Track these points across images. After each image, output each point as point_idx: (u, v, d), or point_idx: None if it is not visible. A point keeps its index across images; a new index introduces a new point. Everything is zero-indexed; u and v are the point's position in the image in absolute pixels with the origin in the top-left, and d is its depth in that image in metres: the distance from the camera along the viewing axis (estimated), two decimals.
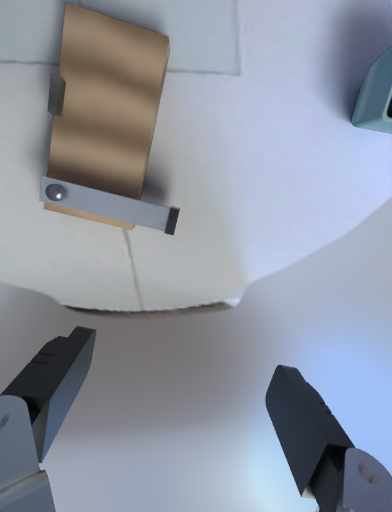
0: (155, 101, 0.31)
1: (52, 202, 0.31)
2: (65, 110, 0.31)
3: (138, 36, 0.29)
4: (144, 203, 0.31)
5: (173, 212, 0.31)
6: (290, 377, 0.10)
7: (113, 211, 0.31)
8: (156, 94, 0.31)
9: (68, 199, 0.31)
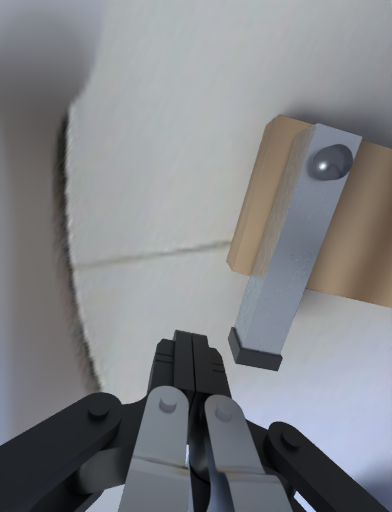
0: None
1: (311, 150, 0.15)
2: None
3: None
4: (291, 317, 0.18)
5: (274, 362, 0.19)
6: (194, 342, 0.10)
7: (283, 265, 0.17)
8: None
9: (313, 184, 0.16)
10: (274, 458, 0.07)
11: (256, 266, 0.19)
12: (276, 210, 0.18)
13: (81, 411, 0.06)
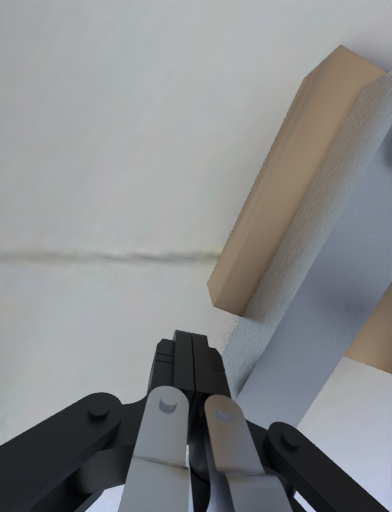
0: None
1: None
2: None
3: None
4: (303, 410, 0.10)
5: None
6: (194, 342, 0.10)
7: (308, 320, 0.09)
8: None
9: None
10: (274, 458, 0.07)
11: (254, 306, 0.11)
12: (306, 216, 0.10)
13: (81, 411, 0.06)
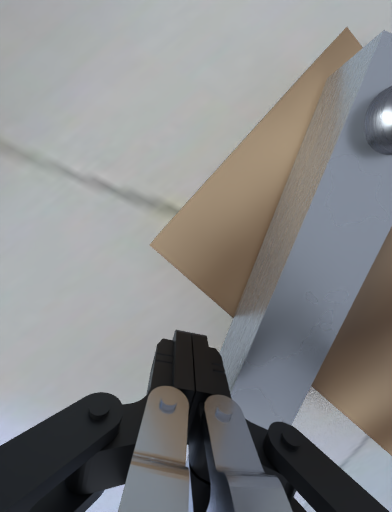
0: (365, 430, 0.15)
1: (364, 90, 0.07)
2: None
3: None
4: (299, 400, 0.10)
5: None
6: (194, 342, 0.10)
7: (292, 310, 0.09)
8: (374, 438, 0.15)
9: (361, 160, 0.08)
10: (274, 458, 0.07)
11: (244, 302, 0.12)
12: (284, 210, 0.10)
13: (81, 411, 0.06)
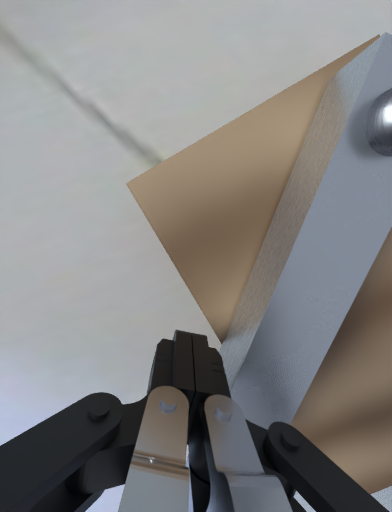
0: None
1: (365, 91, 0.07)
2: None
3: (367, 483, 0.16)
4: (298, 399, 0.10)
5: None
6: (194, 342, 0.10)
7: (291, 310, 0.09)
8: None
9: (362, 161, 0.08)
10: (274, 458, 0.07)
11: (244, 301, 0.12)
12: (285, 210, 0.10)
13: (81, 411, 0.06)
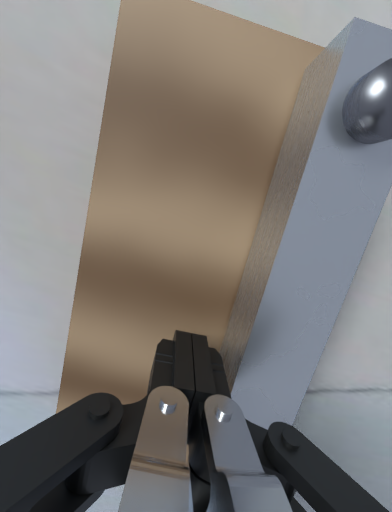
0: (66, 362, 0.13)
1: (339, 80, 0.07)
2: None
3: None
4: (300, 396, 0.10)
5: None
6: (193, 342, 0.10)
7: (285, 307, 0.09)
8: (64, 376, 0.13)
9: (342, 151, 0.08)
10: (274, 458, 0.07)
11: (239, 301, 0.11)
12: (271, 206, 0.10)
13: (81, 411, 0.06)
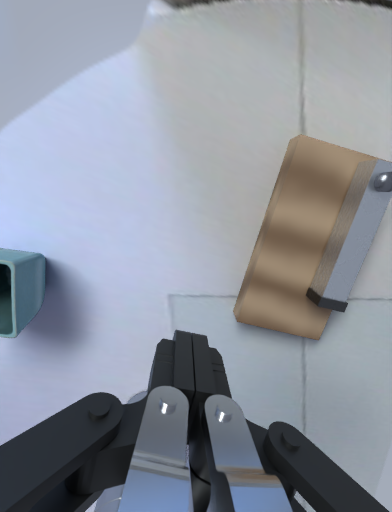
0: (254, 273, 0.32)
1: (373, 174, 0.26)
2: None
3: (263, 320, 0.33)
4: (355, 276, 0.29)
5: (342, 306, 0.29)
6: (194, 342, 0.10)
7: (352, 243, 0.28)
8: (252, 278, 0.32)
9: (373, 194, 0.26)
10: (274, 458, 0.07)
11: (329, 245, 0.30)
12: (345, 209, 0.29)
13: (81, 411, 0.06)
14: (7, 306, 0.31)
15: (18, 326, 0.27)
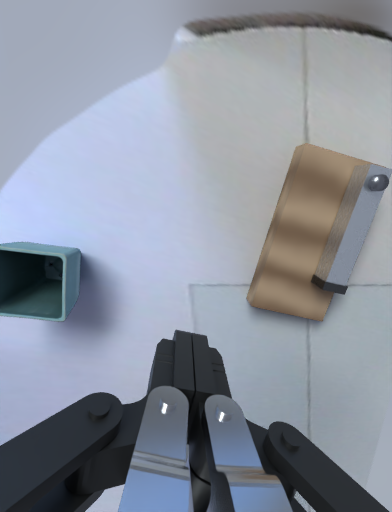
0: (266, 262, 0.36)
1: (367, 176, 0.31)
2: None
3: (274, 305, 0.38)
4: (353, 263, 0.34)
5: (343, 289, 0.34)
6: (194, 342, 0.10)
7: (351, 235, 0.33)
8: (265, 268, 0.36)
9: (367, 193, 0.31)
10: (274, 458, 0.07)
11: (331, 237, 0.35)
12: (344, 206, 0.33)
13: (81, 411, 0.06)
14: (49, 295, 0.35)
15: (66, 311, 0.31)
